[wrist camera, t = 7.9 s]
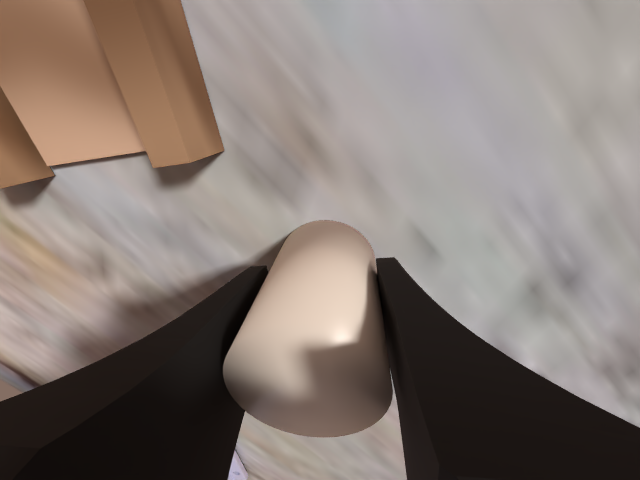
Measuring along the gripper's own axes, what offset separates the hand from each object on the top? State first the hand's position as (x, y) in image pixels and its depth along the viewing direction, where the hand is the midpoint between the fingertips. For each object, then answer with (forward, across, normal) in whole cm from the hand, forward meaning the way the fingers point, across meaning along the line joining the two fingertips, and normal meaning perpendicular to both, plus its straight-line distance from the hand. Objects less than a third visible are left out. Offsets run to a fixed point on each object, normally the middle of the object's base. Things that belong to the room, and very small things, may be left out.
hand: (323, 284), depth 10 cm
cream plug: (+1, 0, 0) cm, 1 cm away
